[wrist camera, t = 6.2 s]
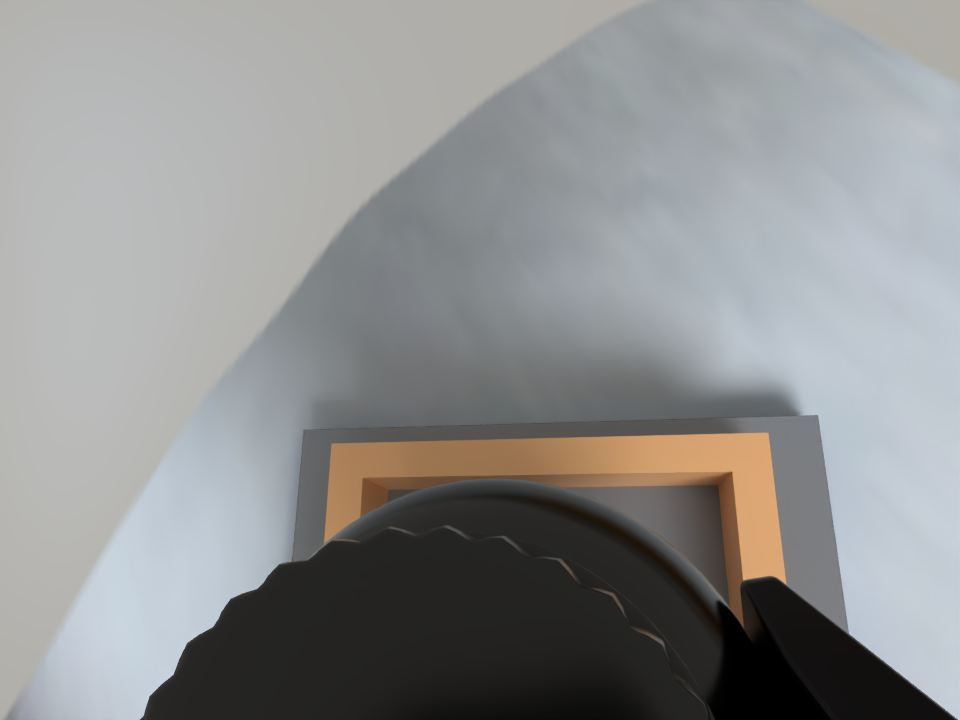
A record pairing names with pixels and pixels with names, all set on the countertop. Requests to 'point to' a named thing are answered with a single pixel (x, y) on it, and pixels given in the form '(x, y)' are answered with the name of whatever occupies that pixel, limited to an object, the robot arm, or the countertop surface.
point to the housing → (613, 486)
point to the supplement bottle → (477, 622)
